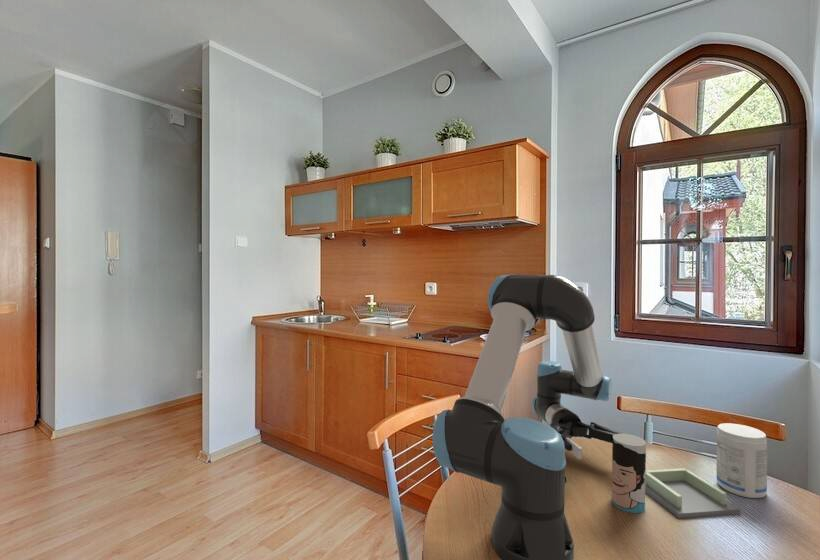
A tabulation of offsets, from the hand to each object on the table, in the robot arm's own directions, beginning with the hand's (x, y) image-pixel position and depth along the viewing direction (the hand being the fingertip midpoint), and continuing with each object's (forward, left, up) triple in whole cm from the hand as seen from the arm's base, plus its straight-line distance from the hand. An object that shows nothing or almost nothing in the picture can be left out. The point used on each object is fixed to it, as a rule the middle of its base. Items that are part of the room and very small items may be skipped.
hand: (606, 452), depth 99 cm
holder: (+15, -7, -8) cm, 18 cm away
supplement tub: (+32, -6, -8) cm, 33 cm away
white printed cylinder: (0, -9, -8) cm, 12 cm away
